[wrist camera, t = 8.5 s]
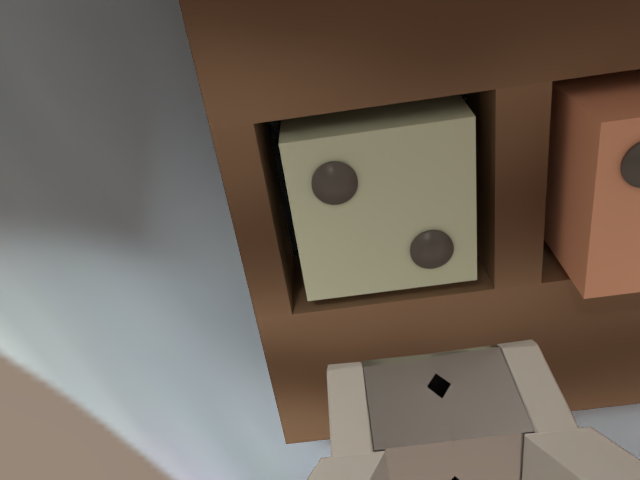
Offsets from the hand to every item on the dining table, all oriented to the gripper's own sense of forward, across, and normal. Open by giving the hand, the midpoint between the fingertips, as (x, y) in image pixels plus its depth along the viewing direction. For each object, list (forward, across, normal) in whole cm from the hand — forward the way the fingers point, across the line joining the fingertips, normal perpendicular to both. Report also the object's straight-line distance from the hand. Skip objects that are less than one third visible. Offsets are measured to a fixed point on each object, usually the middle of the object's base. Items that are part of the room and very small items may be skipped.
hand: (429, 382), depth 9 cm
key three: (+8, -7, +1) cm, 11 cm away
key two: (+9, 0, +1) cm, 10 cm away
